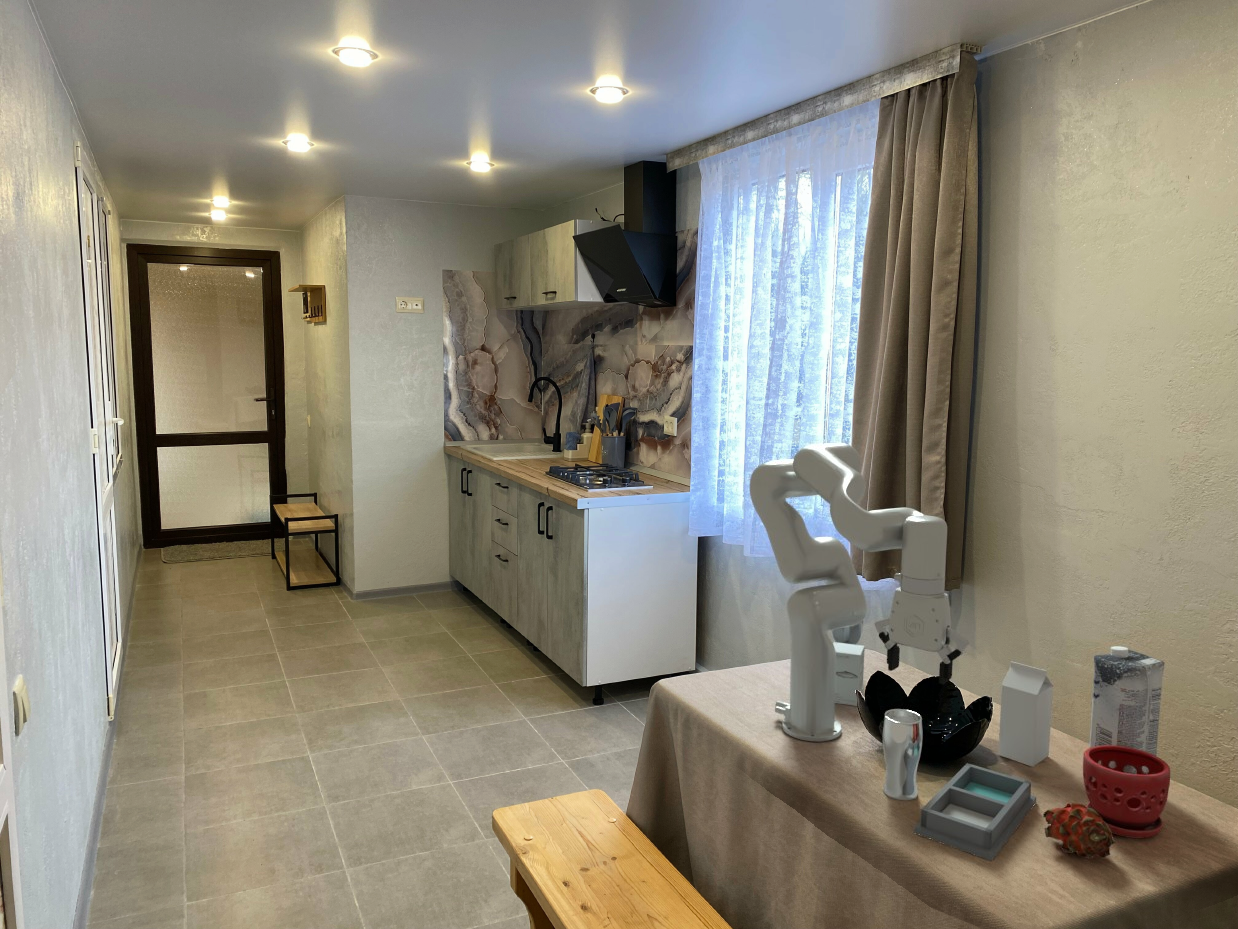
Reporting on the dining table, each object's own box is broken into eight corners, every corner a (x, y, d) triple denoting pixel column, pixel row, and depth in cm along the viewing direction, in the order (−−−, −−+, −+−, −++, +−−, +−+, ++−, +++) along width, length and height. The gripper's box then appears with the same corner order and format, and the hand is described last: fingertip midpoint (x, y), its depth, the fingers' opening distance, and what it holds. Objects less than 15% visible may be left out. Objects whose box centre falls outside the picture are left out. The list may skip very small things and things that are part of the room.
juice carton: (1161, 795, 166) (1172, 654, 162) (1120, 806, 162) (1131, 662, 158) (1118, 774, 174) (1127, 639, 171) (1078, 784, 170) (1087, 647, 167)
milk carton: (1033, 767, 177) (1038, 675, 174) (997, 755, 182) (1002, 665, 180) (1048, 756, 182) (1054, 666, 179) (1014, 745, 187) (1019, 657, 184)
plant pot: (1180, 829, 154) (1186, 763, 153) (1139, 853, 148) (1144, 784, 146) (1105, 797, 165) (1110, 735, 164) (1064, 818, 158) (1068, 753, 157)
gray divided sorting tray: (913, 833, 154) (914, 810, 153) (964, 781, 172) (965, 760, 171) (991, 861, 146) (992, 837, 145) (1036, 803, 164) (1037, 781, 163)
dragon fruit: (1110, 882, 142) (1045, 855, 153) (1136, 840, 145) (1070, 816, 156) (1085, 847, 140) (1021, 821, 151) (1112, 805, 143) (1047, 783, 154)
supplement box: (826, 703, 209) (828, 650, 208) (832, 691, 216) (833, 640, 214) (859, 707, 207) (861, 654, 205) (863, 696, 213) (865, 644, 212)
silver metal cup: (922, 803, 164) (925, 725, 162) (882, 800, 165) (885, 722, 163) (917, 785, 170) (920, 709, 168) (879, 782, 172) (881, 707, 170)
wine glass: (830, 680, 223) (831, 622, 221) (828, 668, 231) (829, 612, 229) (863, 682, 222) (864, 623, 220) (860, 670, 230) (861, 613, 228)
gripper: (868, 580, 165) (865, 669, 168) (961, 598, 154) (956, 693, 156) (887, 572, 171) (883, 658, 173) (978, 589, 159) (973, 681, 161)
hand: (918, 675), depth 165 cm, fingers open, 9 cm apart
